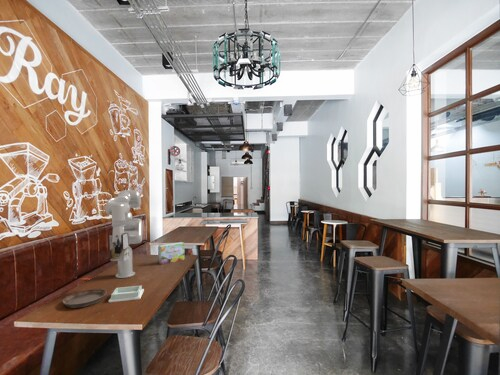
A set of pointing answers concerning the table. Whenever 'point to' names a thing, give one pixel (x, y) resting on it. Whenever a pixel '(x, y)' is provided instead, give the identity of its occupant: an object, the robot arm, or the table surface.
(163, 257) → the snack box
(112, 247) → the coffee box
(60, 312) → the table surface
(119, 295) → the stand
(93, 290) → the plant saucer
